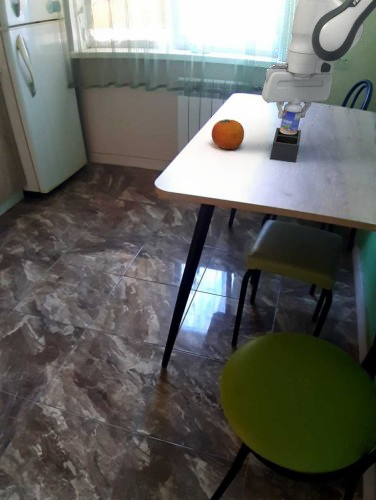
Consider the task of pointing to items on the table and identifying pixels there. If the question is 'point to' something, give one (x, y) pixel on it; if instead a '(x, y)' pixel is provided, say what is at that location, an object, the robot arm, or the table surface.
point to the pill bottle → (291, 117)
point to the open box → (285, 146)
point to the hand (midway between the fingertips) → (291, 117)
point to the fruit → (228, 134)
